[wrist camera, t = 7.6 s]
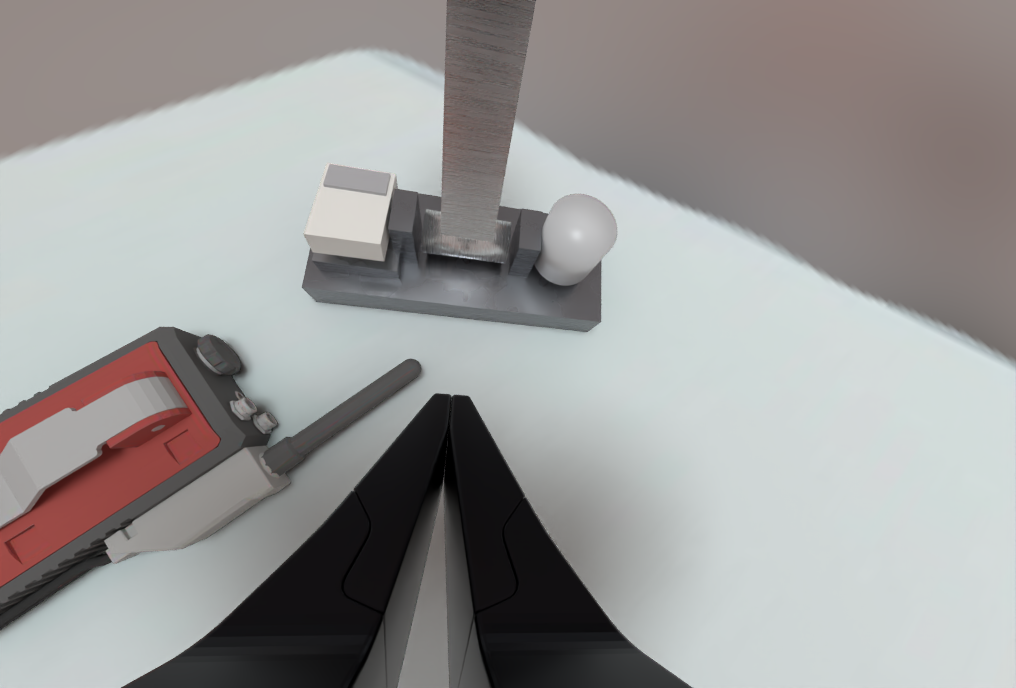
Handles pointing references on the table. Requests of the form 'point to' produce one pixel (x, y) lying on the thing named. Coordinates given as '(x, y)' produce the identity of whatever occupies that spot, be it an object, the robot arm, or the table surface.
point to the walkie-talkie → (141, 459)
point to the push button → (575, 239)
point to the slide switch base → (456, 276)
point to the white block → (351, 213)
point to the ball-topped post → (478, 126)
